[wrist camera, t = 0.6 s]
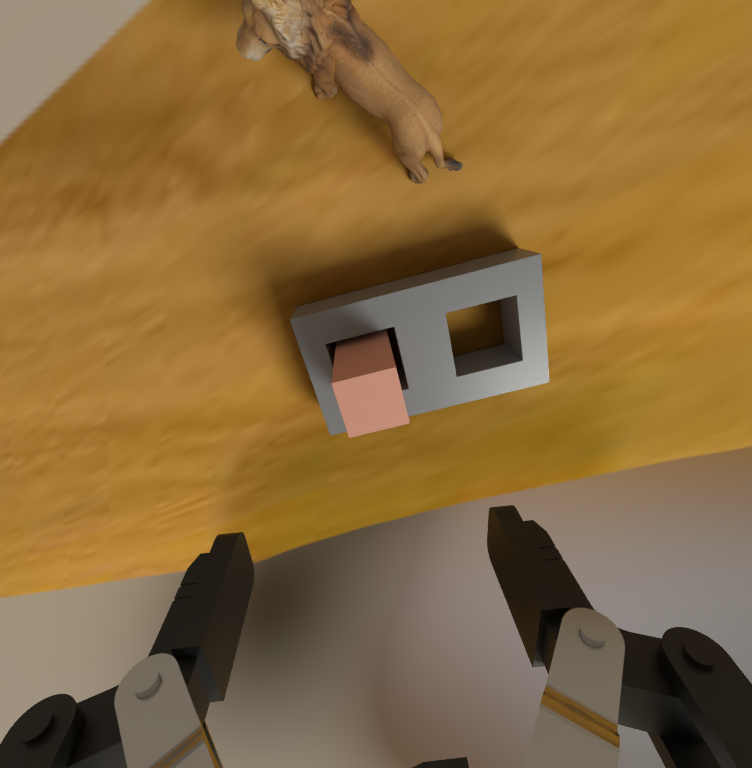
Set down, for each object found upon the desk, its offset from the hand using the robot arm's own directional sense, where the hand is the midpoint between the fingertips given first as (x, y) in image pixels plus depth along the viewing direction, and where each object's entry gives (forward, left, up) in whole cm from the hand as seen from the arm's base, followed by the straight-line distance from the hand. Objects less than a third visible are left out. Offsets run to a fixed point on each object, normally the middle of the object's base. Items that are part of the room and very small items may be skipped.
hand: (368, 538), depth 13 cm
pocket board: (-5, +1, -22) cm, 22 cm away
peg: (0, +1, -22) cm, 22 cm away
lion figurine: (-4, -15, -22) cm, 27 cm away
